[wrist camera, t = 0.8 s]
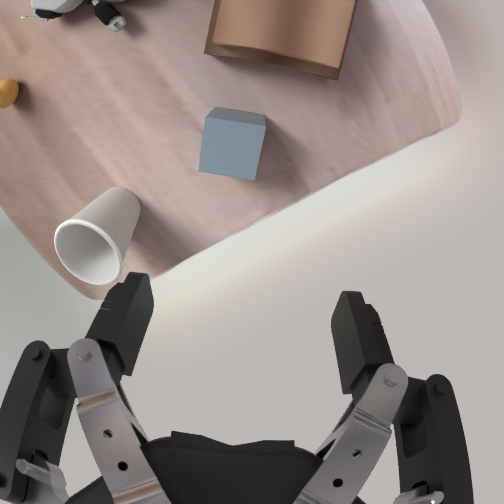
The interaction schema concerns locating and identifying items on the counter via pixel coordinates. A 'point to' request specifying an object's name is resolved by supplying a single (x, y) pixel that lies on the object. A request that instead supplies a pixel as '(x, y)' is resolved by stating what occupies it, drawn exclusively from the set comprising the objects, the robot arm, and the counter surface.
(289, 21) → the wooden stepped block
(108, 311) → the robot arm
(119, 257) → the dixie cup
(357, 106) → the counter surface
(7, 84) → the figurine
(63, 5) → the robot toy
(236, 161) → the slate brick
